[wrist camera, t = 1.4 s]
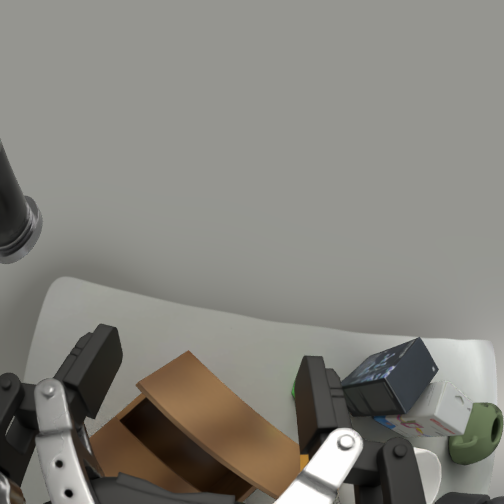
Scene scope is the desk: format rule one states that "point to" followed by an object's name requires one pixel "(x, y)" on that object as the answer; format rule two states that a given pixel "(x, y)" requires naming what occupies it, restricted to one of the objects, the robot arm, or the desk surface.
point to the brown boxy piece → (161, 454)
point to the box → (389, 380)
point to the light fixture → (468, 499)
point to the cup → (427, 469)
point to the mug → (478, 435)
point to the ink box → (433, 413)
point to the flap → (223, 424)
